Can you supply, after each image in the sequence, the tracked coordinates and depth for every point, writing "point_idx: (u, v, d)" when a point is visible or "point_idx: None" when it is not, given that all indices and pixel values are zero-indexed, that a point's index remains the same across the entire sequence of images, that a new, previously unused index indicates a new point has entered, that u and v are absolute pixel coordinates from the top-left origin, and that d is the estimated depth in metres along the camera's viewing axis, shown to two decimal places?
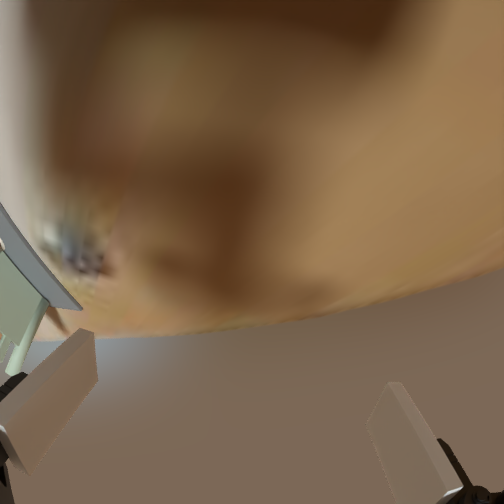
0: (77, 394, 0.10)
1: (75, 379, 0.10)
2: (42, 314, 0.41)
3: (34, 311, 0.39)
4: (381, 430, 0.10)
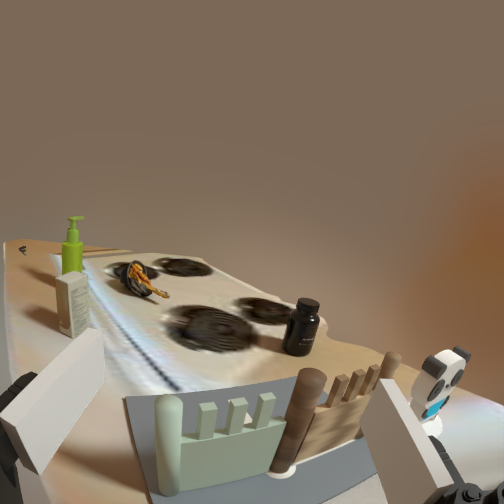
0: (86, 393, 0.10)
1: (84, 378, 0.10)
2: (169, 486, 0.23)
3: (180, 479, 0.24)
4: (373, 426, 0.11)
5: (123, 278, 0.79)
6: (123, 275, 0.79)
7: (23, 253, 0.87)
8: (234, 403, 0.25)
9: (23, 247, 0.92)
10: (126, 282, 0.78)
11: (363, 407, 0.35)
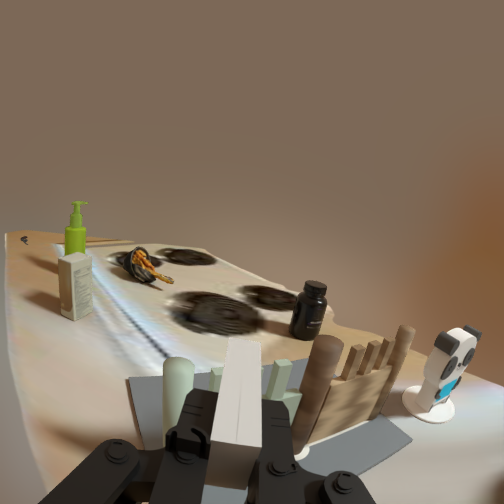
0: None
1: None
2: None
3: None
4: None
5: (126, 264, 0.78)
6: (126, 261, 0.78)
7: (25, 243, 0.87)
8: None
9: (25, 237, 0.92)
10: (129, 268, 0.78)
11: (377, 383, 0.34)
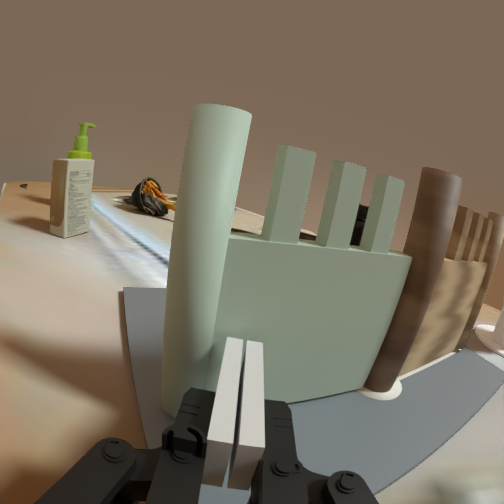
0: None
1: None
2: (182, 386, 0.13)
3: (209, 373, 0.14)
4: (239, 387, 0.13)
5: (135, 196, 0.67)
6: (135, 192, 0.67)
7: (24, 187, 0.77)
8: None
9: (24, 184, 0.82)
10: (138, 200, 0.67)
11: (474, 287, 0.23)
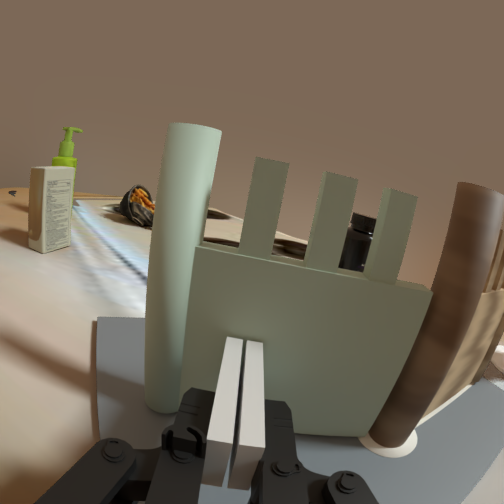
0: None
1: None
2: (153, 378, 0.14)
3: (182, 375, 0.15)
4: (239, 387, 0.13)
5: (123, 205, 0.63)
6: (123, 201, 0.63)
7: (12, 194, 0.72)
8: None
9: (13, 191, 0.77)
10: (126, 209, 0.63)
11: (498, 316, 0.19)
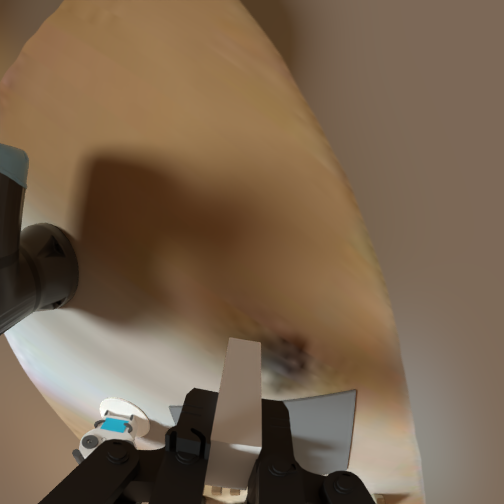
0: None
1: None
2: None
3: None
4: None
5: None
6: None
7: None
8: None
9: None
10: None
11: None
